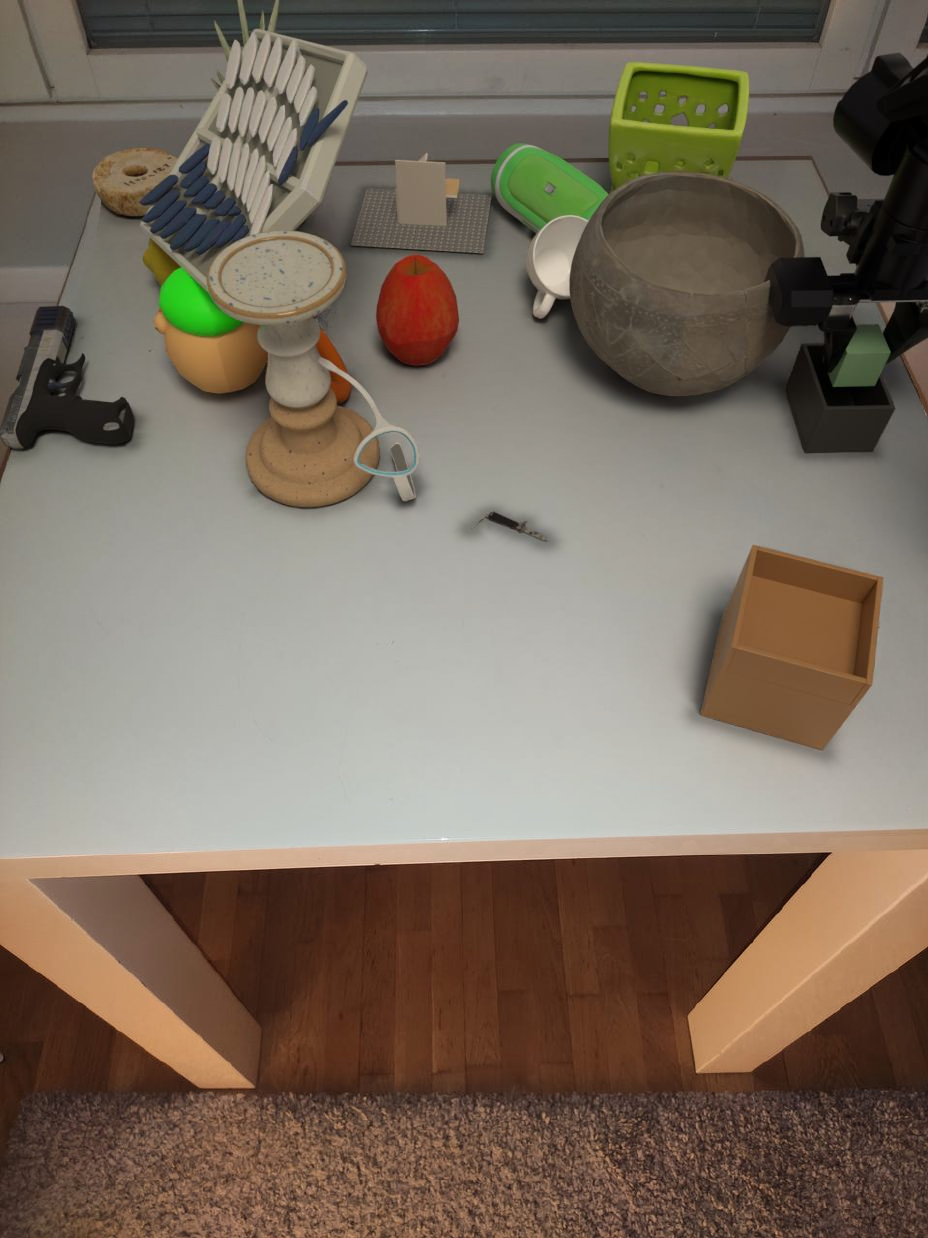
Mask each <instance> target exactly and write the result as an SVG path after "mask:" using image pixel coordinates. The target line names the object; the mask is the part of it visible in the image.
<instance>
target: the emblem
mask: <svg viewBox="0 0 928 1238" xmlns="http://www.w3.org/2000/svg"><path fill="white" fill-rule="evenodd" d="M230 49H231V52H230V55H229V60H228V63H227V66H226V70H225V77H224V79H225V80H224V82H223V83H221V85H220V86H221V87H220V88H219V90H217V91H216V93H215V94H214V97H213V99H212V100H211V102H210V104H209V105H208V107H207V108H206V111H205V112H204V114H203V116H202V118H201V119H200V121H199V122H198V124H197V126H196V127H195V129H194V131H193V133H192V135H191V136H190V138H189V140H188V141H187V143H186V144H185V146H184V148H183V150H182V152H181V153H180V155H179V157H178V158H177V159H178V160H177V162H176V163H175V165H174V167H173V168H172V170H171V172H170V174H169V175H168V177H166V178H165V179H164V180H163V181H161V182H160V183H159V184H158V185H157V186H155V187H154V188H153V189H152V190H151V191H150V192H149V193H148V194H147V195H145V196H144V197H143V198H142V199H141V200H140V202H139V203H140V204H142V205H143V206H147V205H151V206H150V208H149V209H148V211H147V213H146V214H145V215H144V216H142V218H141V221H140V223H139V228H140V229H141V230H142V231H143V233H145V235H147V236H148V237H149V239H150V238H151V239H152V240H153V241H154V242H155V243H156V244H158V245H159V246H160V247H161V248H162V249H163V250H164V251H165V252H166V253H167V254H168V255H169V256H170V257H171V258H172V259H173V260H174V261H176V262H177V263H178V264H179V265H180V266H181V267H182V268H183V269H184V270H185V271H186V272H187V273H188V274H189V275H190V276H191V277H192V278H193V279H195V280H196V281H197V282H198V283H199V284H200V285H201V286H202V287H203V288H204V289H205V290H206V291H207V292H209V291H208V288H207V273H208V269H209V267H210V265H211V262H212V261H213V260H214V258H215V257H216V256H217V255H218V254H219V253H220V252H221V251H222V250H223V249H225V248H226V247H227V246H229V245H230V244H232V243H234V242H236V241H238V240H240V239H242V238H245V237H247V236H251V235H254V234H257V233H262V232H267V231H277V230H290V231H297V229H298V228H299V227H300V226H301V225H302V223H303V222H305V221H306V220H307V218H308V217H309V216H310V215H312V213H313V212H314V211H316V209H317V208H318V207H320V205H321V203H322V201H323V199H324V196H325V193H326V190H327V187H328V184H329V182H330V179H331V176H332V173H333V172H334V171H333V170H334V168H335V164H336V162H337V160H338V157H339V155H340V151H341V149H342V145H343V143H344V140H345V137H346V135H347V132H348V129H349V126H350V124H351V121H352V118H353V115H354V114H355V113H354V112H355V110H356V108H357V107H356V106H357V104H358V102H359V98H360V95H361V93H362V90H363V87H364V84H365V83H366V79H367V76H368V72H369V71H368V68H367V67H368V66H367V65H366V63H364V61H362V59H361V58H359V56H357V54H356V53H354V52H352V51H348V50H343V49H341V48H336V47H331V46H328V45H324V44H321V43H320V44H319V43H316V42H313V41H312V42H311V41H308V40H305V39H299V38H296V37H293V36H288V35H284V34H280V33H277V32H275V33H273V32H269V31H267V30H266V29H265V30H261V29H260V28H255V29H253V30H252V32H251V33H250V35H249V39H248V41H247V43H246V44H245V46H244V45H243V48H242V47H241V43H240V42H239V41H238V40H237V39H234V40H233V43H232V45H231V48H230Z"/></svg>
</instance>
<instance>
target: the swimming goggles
mask: <svg viewBox="0 0 928 1238" xmlns="http://www.w3.org/2000/svg"><path fill="white" fill-rule="evenodd" d="M318 363H320V364H321V365H322V366H323V367H324V368H325V369H328V370H330V371H333V372H336V373H337V374H339V375H340V376H342V377H343V378H345V379H346V380H348V381H349V382H350V383H351V386H353V387H354V388H355V389H356V390H357V391H358V392H359V393H360V394H361V395H362V396H363V398H364V399H365V400H366V402H367V403H368V405H369V407H370V408H371V410H372V412H373V414H374V416H375V420H376V423H375V426H374V428H373V432H372V433H370V434H369V435H368V436H366V437H365V438H364V439H363V440H362V441H361V443H360V444H359V446H358V447H357V449H356V451H355V454H354V457H353V461H354V464H355V465H356V466H357V467H358V468H359V469H361V470H363V471H365V472H367V473H370V474H373V476H376V477H381V478H392V479H393V481H394V484H395V487H396V489H397V492H398V495H399V497H400V499H401V500H402V502H408V501H410V500H414V499H416V498H417V494H416V489H415V485H414V481H413V477H412V475H411V474H413V473H414V472H415V471H416V470H417V469H418V468H419V464H420V459H421V454H420V448H419V444H418V443H417V440H416V438H414V436H413V435H412V434H411V432H410V431H408V430H407V429H406V428H404V427H403V426H399V425H395V424H394V425H393V424H391V423H389V422H388V421H387V420H386V419H385V418H384V417H383V415H382V414H381V412H380V410H379V408H378V405H377V404H376V403H375V401H374V399H373V397H371V395H370V394H369V393H368V391H367V390H366V389H365V387H363V386H362V384H360V383H359V382H358V381H357V380H356V379H354V377H352V376H351V375H349V373H348V374H347V373H345V372H343V371H342V370H340V369H338V368H337V367H336V366H335V365H334V364H333V363H332V362H330V361H329V360H326V359H324V358H321V357H320V358H319V360H318ZM387 433H398V434H401V435H402V436H403V437H405V438H406V439H407V441H408V442H409V444H410V445H411V447H412V450H413V462H412V464H411V466H410V467H409V464H408V460H407V458H406V454H405V451H404V448H403V446H402V445H403V444H401V443H400V442H398V441H396V442H393V443H392V444H391V445H390V446H389V447H388V448H389V451H390V455H391V457H392V460H393V464H394V467H395V469H396V471H385V470H384V471H383V470H379V469H376V470H375V469H372V468H370V467H367V466H365V465H364V464H362V463H360V461H359V457H360V454H361V452H362V450H363V449H364V447H365V446H366V445H367V444H368V443H369V442H370V441H371V440H372V439H374V438H375V437H377V438H378V437H379V436H381V435H383V434H387Z"/></svg>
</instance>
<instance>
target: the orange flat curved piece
mask: <svg viewBox="0 0 928 1238" xmlns="http://www.w3.org/2000/svg"><path fill="white" fill-rule="evenodd" d="M255 325H256V324H255ZM256 326H257V328H258V329H259V327H260V325H256ZM316 347H317V349H318V352H319V354H320V356H321V357H322V358H324V359H326V360H329V361H330V362H332V363H333V364H334V365H335V366H336V367H337V368H338V369H340V370H342V371H343V372H345V373H347V374H348V375H349V372H348V369H347V367H346V365H345V363H344V361H343V358H342V357H341V355H340V352H338V350H337V349H336V347H335V345H334V344H333V342H332V340H331V339H330V338H329V337H328V335H327V334H326V333H325V332H324V330H323V329H322V328H321V327H320V338H319V340H318V342H317V343H316ZM329 372H330V376H331V384H330V388H331V389H332V390H333V392H334V393H335V396H336V399H337V403H343V402H345V401H346V400H348V399H349V397H350V395H351V394H352V393H351V392H352V384H351V383H350V382H349V381H348V380H346V379H345V378H343V377H342V376H340V375H339V374H337V373H336V372H333V371H330V370H329Z"/></svg>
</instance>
